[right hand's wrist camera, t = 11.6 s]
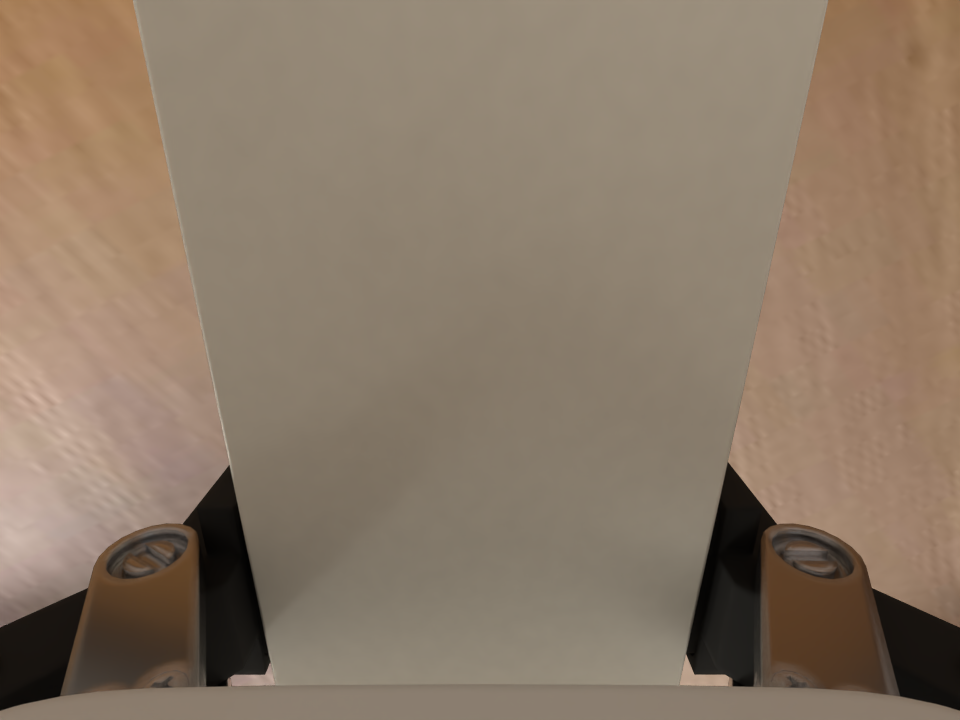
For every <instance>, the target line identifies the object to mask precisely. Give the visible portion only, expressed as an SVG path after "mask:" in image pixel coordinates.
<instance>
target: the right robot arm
mask: <svg viewBox="0 0 960 720" xmlns="http://www.w3.org/2000/svg"><path fill="white" fill-rule="evenodd" d="M686 655H687V657H688V660H689V662H690V665H691V667H692V669H693V672H694V674H725V675H727V676H729V677H730V678H729V682H728V686H683V685H543V684H417V685H277V686H232V682H231V678H230V677H231V676H233V675H265V673H266V671H267V669H268V666H269V664H270V657H269V652H268V647H267V643H266V638H265V633H264V628H263V623H262V619H261V614H260V609H259V604H258V599H257V594H256V590H255V585H254V580H253V575H252V570H251V566H250V561H249V556H248V551H247V546H246V542H245V537H244V532H243V527H242V522H241V517H240V513H239V508H238V503H237V498H236V493H235V489H234V484H233V479H232V474H231V469H230V465H229V466H228V468H227V469H226V470H225V471H224V473H223V474H222V475H221V476H220V478H219V479H218V480H217V481H216V483H215V484H214V485H213V487H212V488H211V489H210V490H209V492H208V493H207V494H206V495H205V497H204V498H203V499H202V500H201V502H200V503H199V504H198V506H197V507H196V508H195V509H194V511H193V512H192V513H191V514H190V516H189V517H188V518H187V519H186V521H185V522H184V523H183V525H182V524H161V525H155V526H150V527H147V528H144V529H141V530H138V531H135V532H133V533H131V534H129V535H127V536H125V537H123V538H121V539H119V540H118V541H116V542H115V543H113V544H112V545H111V546H109V547H108V548H107V549H106V550H105V551H104V552H103V553H102V554H101V555H100V556H99V558H98V560H97V562H96V563H95V565H94V568H93V572H92V576H91V579H90V583H89V587H88V588H87V589H85V590H83V591H80V592H78V593H76V594H74V595H72V596H69V597H67V598H65V599H63V600H60V601H58V602H56V603H54V604H52V605H49V606H47V607H45V608H43V609H40V610H38V611H36V612H34V613H32V614H29V615H27V616H25V617H23V618H21V619H18V620H16V621H14V622H12V623H9V624H7V625H5V626H3V627H1V628H0V720H960V628H959V627H957V626H955V625H953V624H950V623H948V622H946V621H944V620H941V619H939V618H937V617H935V616H933V615H930V614H928V613H926V612H924V611H921V610H919V609H917V608H915V607H913V606H910V605H908V604H906V603H904V602H901V601H899V600H897V599H895V598H893V597H890V596H888V595H886V594H884V593H882V592H879V591H877V590H875V589H873V588H872V587H871V583H870V579H869V576H868V572H867V568H866V565H865V563H864V562H863V560H862V558H861V556H860V555H859V554H858V553H857V552H856V551H855V550H854V549H853V548H852V547H851V546H849V545H848V544H847V543H845V542H844V541H842V540H841V539H839V538H837V537H835V536H833V535H831V534H829V533H827V532H825V531H822V530H819V529H816V528H813V527H810V526H805V525H799V524H778V525H777V524H776V522H775V521H774V520H773V519H772V517H771V516H770V515H769V514H768V512H767V511H766V510H765V509H764V507H763V506H762V505H761V503H760V502H759V501H758V500H757V498H756V497H755V496H754V495H753V493H752V492H751V491H750V490H749V488H748V487H747V486H746V484H745V483H744V482H743V481H742V479H741V478H740V477H739V476H738V474H737V473H736V472H735V470H734V469H733V468H732V467H731V465H730V464H729V463H727V468H726V472H725V477H724V481H723V486H722V491H721V495H720V500H719V504H718V509H717V514H716V518H715V523H714V527H713V532H712V537H711V541H710V546H709V550H708V555H707V560H706V564H705V569H704V573H703V578H702V583H701V587H700V592H699V596H698V601H697V605H696V610H695V615H694V619H693V624H692V628H691V633H690V638H689V642H688V647H687V651H686Z"/></svg>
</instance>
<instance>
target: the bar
mask: <svg viewBox="0 0 960 720" xmlns="http://www.w3.org/2000/svg"><path fill="white" fill-rule="evenodd" d="M133 3H134V8H135V12H136V17H137V22H138V27H139V32H140V36H141V41H142V46H143V51H144V56H145V60H146V65H147V70H148V75H149V80H150V84H151V89H152V94H153V99H154V104H155V109H156V113H157V118H158V123H159V128H160V133H161V137H162V142H163V147H164V152H165V157H166V161H167V166H168V171H169V176H170V181H171V186H172V190H173V195H174V200H175V205H176V210H177V214H178V219H179V224H180V229H181V234H182V238H183V243H184V248H185V253H186V258H187V262H188V267H189V272H190V277H191V282H192V287H193V291H194V296H195V301H196V306H197V311H198V315H199V320H200V325H201V330H202V335H203V339H204V344H205V349H206V354H207V359H208V364H209V368H210V373H211V378H212V383H213V388H214V392H215V397H216V402H217V407H218V412H219V416H220V421H221V426H222V431H223V436H224V441H225V445H226V450H227V455H228V460H229V465H230V469H231V474H232V479H233V484H234V489H235V493H236V498H237V503H238V508H239V513H240V517H241V522H242V527H243V532H244V537H245V542H246V546H247V551H248V556H249V561H250V566H251V570H252V575H253V580H254V585H255V590H256V594H257V599H258V604H259V609H260V614H261V619H262V623H263V628H264V633H265V638H266V643H267V647H268V652H269V657H270V662H271V667H272V671H273V676H274V681H275V686H277V685H417V684H543V685H679V684H680V679H681V674H682V670H683V665H684V661H685V656H686V651H687V647H688V642H689V638H690V633H691V628H692V624H693V619H694V615H695V610H696V605H697V601H698V596H699V592H700V587H701V583H702V578H703V573H704V569H705V564H706V560H707V555H708V550H709V546H710V541H711V537H712V532H713V527H714V523H715V518H716V514H717V509H718V504H719V500H720V495H721V491H722V486H723V481H724V477H725V472H726V468H727V463H728V458H729V454H730V449H731V445H732V440H733V436H734V431H735V426H736V422H737V417H738V413H739V408H740V403H741V399H742V394H743V390H744V385H745V380H746V376H747V371H748V367H749V362H750V357H751V353H752V348H753V344H754V339H755V334H756V330H757V325H758V321H759V316H760V311H761V307H762V302H763V298H764V293H765V289H766V284H767V279H768V275H769V270H770V266H771V261H772V256H773V252H774V247H775V243H776V238H777V233H778V229H779V224H780V220H781V215H782V210H783V206H784V201H785V197H786V192H787V187H788V183H789V178H790V174H791V169H792V164H793V160H794V155H795V151H796V146H797V142H798V137H799V132H800V128H801V123H802V119H803V114H804V109H805V105H806V100H807V96H808V91H809V86H810V82H811V77H812V73H813V68H814V63H815V59H816V54H817V50H818V45H819V40H820V36H821V31H822V27H823V22H824V18H825V13H826V8H827V4H828V0H133Z"/></svg>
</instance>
